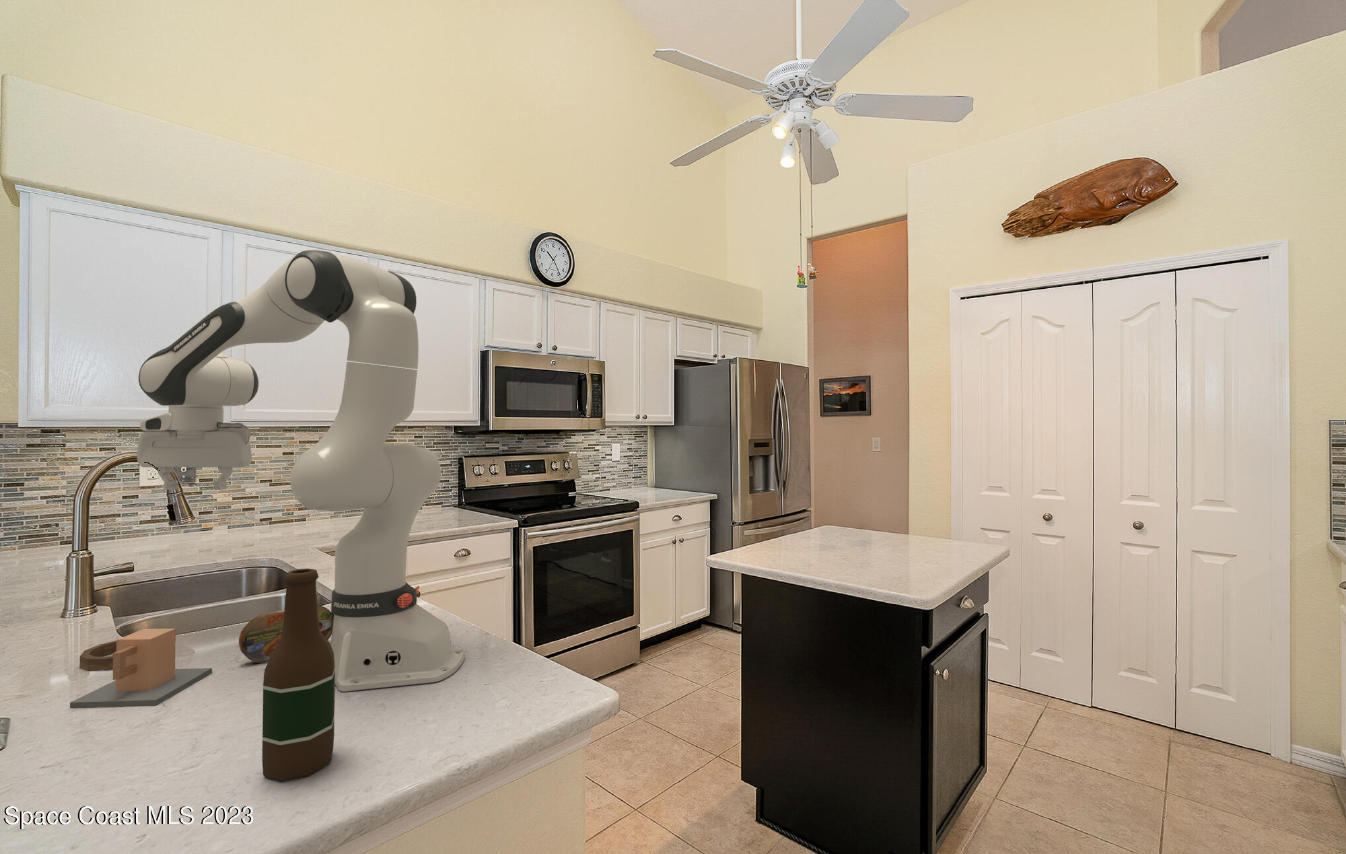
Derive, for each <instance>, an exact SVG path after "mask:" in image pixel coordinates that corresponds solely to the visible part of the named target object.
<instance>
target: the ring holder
mask: <svg viewBox="0 0 1346 854" xmlns="http://www.w3.org/2000/svg"><path fill="white" fill-rule="evenodd" d="M116 650H117V639H116V640H113V641H109V642H105V643H101V644H98V645H95V646H93V647H90V648H88V649H85V650H83V652H82V653H81V654H80V655H79V668H80V669H83V670H85V671H88V672H90V671H92V672H93V671H94V672H95V671H111V670H112V671H113V653H115V652H116ZM109 655H111V656H109Z"/></svg>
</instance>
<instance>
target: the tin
mask: <svg viewBox="0 0 1346 854" xmlns="http://www.w3.org/2000/svg"><path fill="white" fill-rule="evenodd" d="M317 609H318V622H319V627H320V632H321V633H322V634H323V635H324V636H325V638H326V639H327V640H328V641H329V640H330V639H331V637H332V630H333V622H332V619H331V610H330V609H328V608H327V607H325V606H323V605H320V604H319V605H318V604H317ZM284 610H285V609H283V610H282V609H281V610H278V611H277V610H276V611H272V612H268V613H264V614H260V615H258V616H257V615H256V616H255V617H254V618H253V619H251V620H249V621H248V622H247V623H246V624H245V625H244V627H243V628H242V629H241V631H240V633H239V637H238V647H239V650H240V651H241V653H242V655H244V656H245V657H246V658H247V659H248V660H250V661H252V662H254V663H260V664H265V663H266V664H267V663H268V660H269V657H270V655H271V653H272V652H273V650H274V649H275V647H276V646H277V644H278V643H279V641H280V640H281V635H282V630H283V623H284Z"/></svg>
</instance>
